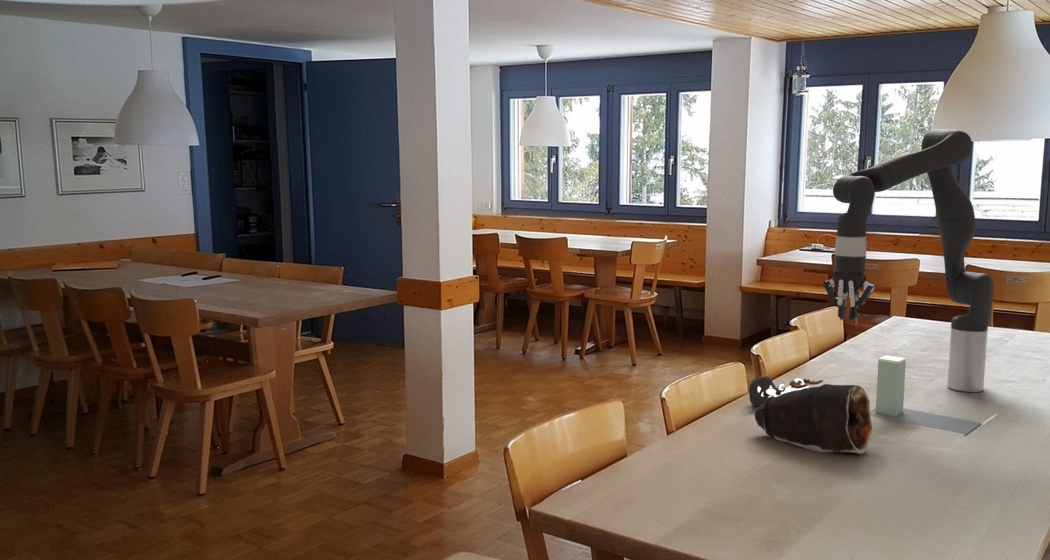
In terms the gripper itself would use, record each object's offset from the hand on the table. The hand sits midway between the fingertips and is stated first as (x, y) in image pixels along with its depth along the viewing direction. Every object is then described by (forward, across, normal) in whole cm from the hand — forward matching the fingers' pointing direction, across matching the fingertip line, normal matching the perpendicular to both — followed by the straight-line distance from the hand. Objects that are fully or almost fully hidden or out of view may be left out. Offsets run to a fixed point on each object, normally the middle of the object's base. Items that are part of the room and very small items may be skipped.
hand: (847, 319), depth 225 cm
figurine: (+23, +10, +14) cm, 29 cm away
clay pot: (+23, -7, +36) cm, 43 cm away
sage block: (+22, -12, 0) cm, 25 cm away
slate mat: (+23, -20, 0) cm, 31 cm away
